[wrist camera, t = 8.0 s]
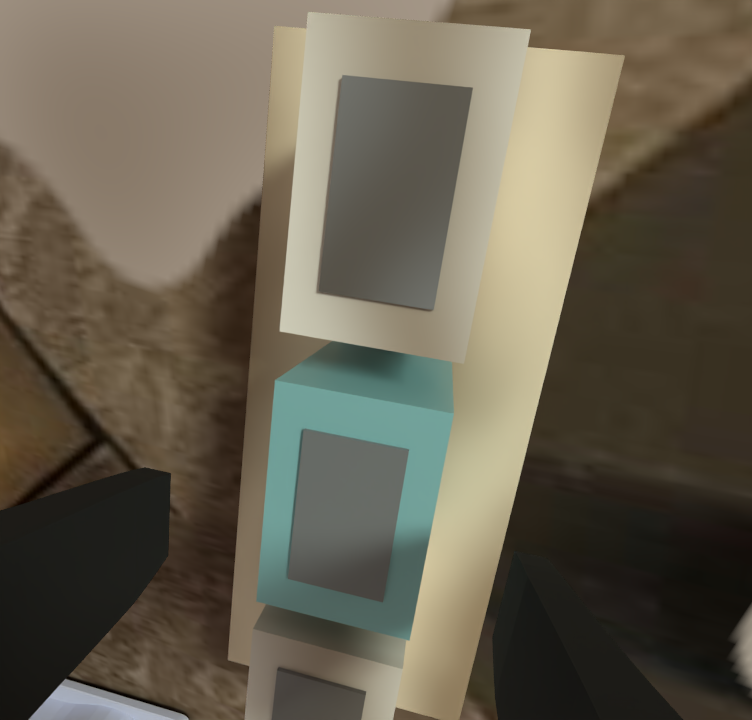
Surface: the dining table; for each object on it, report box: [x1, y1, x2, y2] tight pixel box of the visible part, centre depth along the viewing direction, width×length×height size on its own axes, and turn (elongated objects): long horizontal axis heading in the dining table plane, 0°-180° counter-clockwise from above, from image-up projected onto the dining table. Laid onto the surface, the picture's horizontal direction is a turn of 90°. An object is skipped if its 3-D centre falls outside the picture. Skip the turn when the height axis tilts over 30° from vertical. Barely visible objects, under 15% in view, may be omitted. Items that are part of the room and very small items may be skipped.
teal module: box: [256, 341, 454, 641], centre depth 12 cm, size 4×6×5 cm, turn 172°
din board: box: [228, 12, 625, 720], centre depth 13 cm, size 10×24×6 cm, turn 172°
